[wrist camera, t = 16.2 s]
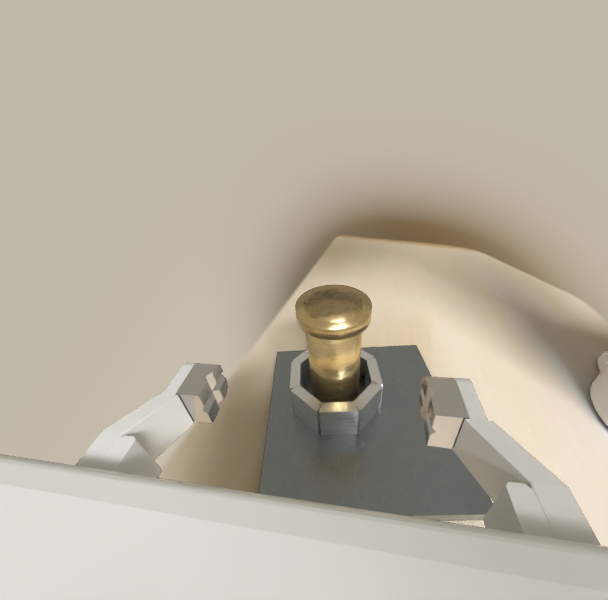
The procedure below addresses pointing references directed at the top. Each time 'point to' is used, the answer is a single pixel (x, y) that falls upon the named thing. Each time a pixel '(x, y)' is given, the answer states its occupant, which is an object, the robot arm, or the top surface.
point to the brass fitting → (334, 339)
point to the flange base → (364, 443)
